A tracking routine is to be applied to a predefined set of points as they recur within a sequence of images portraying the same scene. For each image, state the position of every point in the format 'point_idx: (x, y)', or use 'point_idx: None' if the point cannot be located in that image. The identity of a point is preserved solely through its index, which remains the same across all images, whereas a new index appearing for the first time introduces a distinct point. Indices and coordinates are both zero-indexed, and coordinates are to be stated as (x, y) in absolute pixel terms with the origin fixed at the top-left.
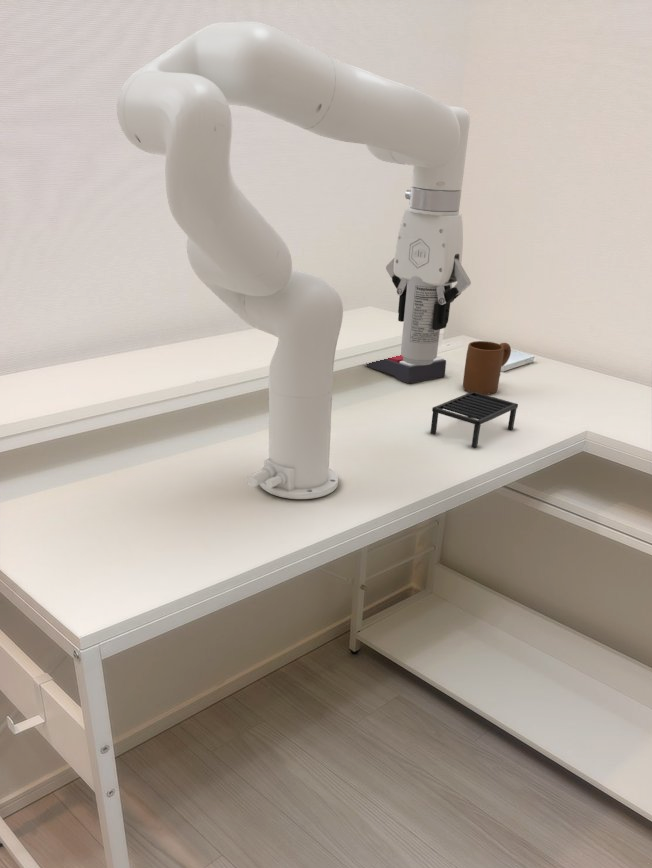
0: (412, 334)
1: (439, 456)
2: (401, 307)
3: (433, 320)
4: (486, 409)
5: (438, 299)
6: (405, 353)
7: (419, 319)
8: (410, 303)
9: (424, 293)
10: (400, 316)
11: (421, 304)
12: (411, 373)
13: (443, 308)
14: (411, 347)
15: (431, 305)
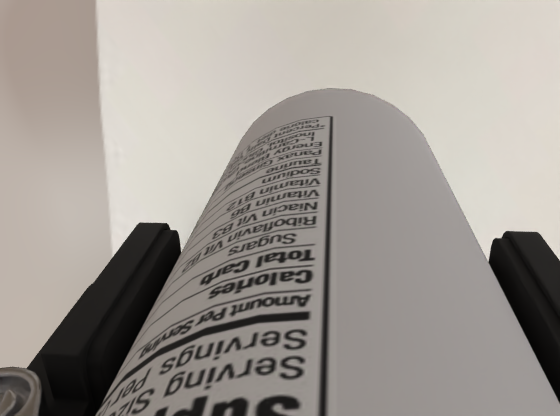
0: (315, 135)
1: (243, 106)
2: (555, 297)
3: (151, 259)
4: None
5: (29, 409)
6: (360, 97)
7: (251, 193)
8: (384, 253)
9: (162, 389)
10: (523, 245)
11: (221, 275)
12: None
13: (38, 366)
14: (314, 106)
15: (138, 336)
